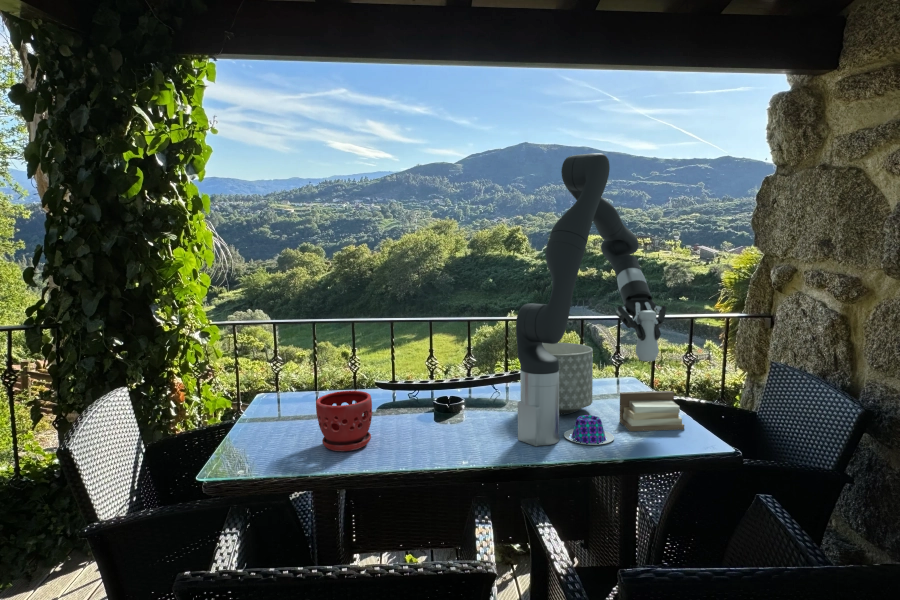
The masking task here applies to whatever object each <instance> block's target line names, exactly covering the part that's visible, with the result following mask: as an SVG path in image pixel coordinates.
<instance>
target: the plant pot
mask: <svg viewBox="0 0 900 600" xmlns="http://www.w3.org/2000/svg"><path fill="white" fill-rule="evenodd" d="M353 402H355V403H353ZM344 403H346V404H345V405H343V404H344ZM315 410H316V419H317V421H318V422H317V423H318V427H319V429H320V432H321V434H322V435H323V437H322V444H323V446H324V447H326V448H327V449H329V450H331V451H334V452H348V451H349V452H350V451H357V450H358V449H361V448H363V447H364V446H365V447H366V445H367V444H369V442H370V441H371V439H372V434H371V432H369V430H370V427H371V424H372V418H373V400H372V396H371V394H370V393H369V392H367V391H366V392H365V391H362V390H342V391H334V392H330V393H328V394H325V395H324V394H323V395H322V396H320V397H318V398H317V399H316V401H315Z"/></svg>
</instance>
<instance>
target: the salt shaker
mask: <svg viewBox="0 0 900 600" xmlns="http://www.w3.org/2000/svg"><path fill="white" fill-rule="evenodd" d="M639 319H641V325H642V327H643V329H644V332H645V335H646V337H645V339H644V340H643V341H641V340H640V339H639V338H638V337H637V341H636V346H635V349H634V351H635V354H636V356H637V358H638V360H639V361H642V362H654V361H656V359H657V357H658V356H659V352H660V351H659V350H660V349H659V343H658V340H655V330H654V326H655V325H654V320H655V319H656V320H657V313H656V311H655V310H654V311H651V310H643V311H641V312H640V313H639Z"/></svg>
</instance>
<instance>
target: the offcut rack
mask: <svg viewBox="0 0 900 600" xmlns="http://www.w3.org/2000/svg"><path fill="white" fill-rule="evenodd" d="M674 394H675V393H674V391H673V390H663V391H662V390H659V391H629V392H626V391H625V392H621V391H620V392H619V423H620V424H621V425H622V426H624V427H625V428H626V429H627V430H628V431H630V432H648V431H674V430H675V431H679V430H683V429H684V430H685V424H684V423H683V418H682V417H681V416H679V415H680V411H681V410H680V408H681V407H680V405H678V404H677V403H676V402H675V401H674V397H675V396H674ZM684 430H683V431H684Z"/></svg>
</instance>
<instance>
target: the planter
mask: <svg viewBox="0 0 900 600" xmlns="http://www.w3.org/2000/svg"><path fill="white" fill-rule="evenodd" d="M542 344H543V347H544V348H545V349H546V350H547V351H548V352H549V353H550V354H552V355H553V356H555V357H556V358H557V359H558V361H559V416H560V415H569V414H572V413H575V412H577V411H580V410H581V409H583V408H587V407H589V406H591V405H592V404H593V387H594V386H593V382H594V381H593V378H594V377H593V372H594V371H593V370H594V369H593V367H594V365H593V363H594V362H593V361H594V360H593V359H594V357H593V354H594V353H593V347H592V346H588V345H585V344H581V343H573V342H558V343H556V344H548V343H542Z"/></svg>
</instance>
